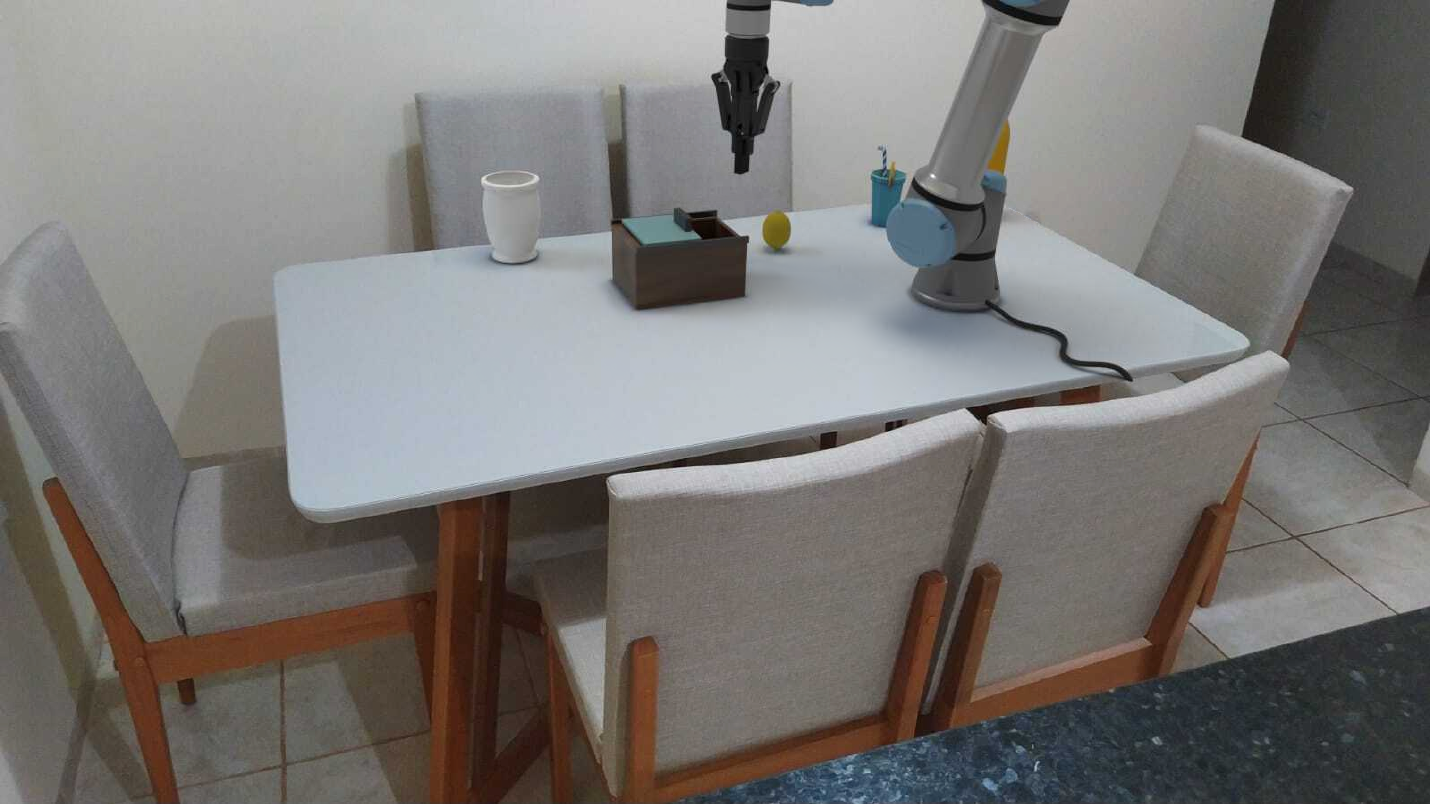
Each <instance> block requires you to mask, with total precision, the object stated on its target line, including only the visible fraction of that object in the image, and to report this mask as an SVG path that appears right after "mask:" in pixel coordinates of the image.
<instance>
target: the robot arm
mask: <svg viewBox="0 0 1430 804" xmlns="http://www.w3.org/2000/svg"><path fill="white" fill-rule="evenodd" d="M772 1H773V2H776V1H777V2H783V3H790V4H797V5H802V6H803V5H804V6H806V7H811V8H812V7H829V6H831V5H832V4H834V1H835V0H726V7H725V21H724V22H725V23H724V24H725V25H724V31H725V32H726V33H727V35H725V37H724V57H725V62H724V64H723V66H722V69H721V70H719V71H718V72H714V73H712V74H711V75H710V78H711V80H712V83H713V85H714V87H715V93H716V98H717V104H718V111H719V117H720V122H721V129H722V130H723V131H727V132H728V133H730V135H731V144H730V146H731V147H730V150H731V153H732V154H734V159H733V160H734V161H733V162H734V163H733V174H736V175H740V176H741V175H744V174H746V173H749V172H750V161H751V159H750V157H751V156H752V155H753V154H754V151H755V137H757V136H761V135H763V134H764V133H765V132H766V129H767V124H768V121H769V118H770V113H771V110H772V106H773V103H774V99H775V95H776V93H777V92H778V90H779V89H780V87H781V81H780V80H775V79H774V78H773V77H771V75H770V70H769V67H768V60H769V52H770V38H769V36H767V35H769V33H770V31H771V12H772ZM1070 1H1071V0H980V2H981V4H982V7H983V9H984V11H985V12H984V13H985V17H984V20H983V23H982V24H981V27H980V30H979V33H978V36H977V38H976V40H975V43H974V45H973V48H972V51H971V54H970V56H969V59H968V61H967V64H966V67H965V68H964V72H963V74H962V77H961V80H960V82H959V85H958V86H957V90H956V93H955V95H954V97H953V100H952V101H951V105H950V108H949V111H948V113H947V116H946V118H945V121H944V123H943V126H942V129H941V131H940V134H939V136H938V139H937V141H936V144H935V146H934V149H933V152H932V154H931V157H930V159H929V162H928V164H927V165H924V166H922V167H918V168H916V170H915V172H914V175H913V177H912V179H911V182H910V184H909V187H908V190H907V192H906V195H905V197H904V199H903V200H900V202H899V203H898V204H897V205H896V206H895V207H894V208H893V209H892V211H891V212H890V214H889V216H888V219H887V223H886V227H885V232H886V237H887V242H888V243H889V244H890V247H891V249H892V251H893V253H894V254H895V255H896V256H897V257H898V258H899V259H900V260H901V261H902V262H904V263H905V264H907V265H908V266H911V267H914V268H917V269H918V270H917V272H916V274H915V276H914V277H913V279H912V283H911V294H912V296H914V298H915V299H917V300H918V301H919V302H921V303H923V304H925V305H927V306H930V307H933V308H935V309H936V308H937V309H941V310H945V311H951V312H963V313H969V312H980V311H981V312H982V311H986V310H989V309H991V310H993V311H994V312H996V313H997V314H998V315H1000V316H1001V317H1003V318H1004V319H1005V320H1006V321H1008V322H1010V323H1011V324H1014V325H1016V326H1019V327H1022V328H1026V329H1030V330H1034V331H1039V332H1044V333H1048V334H1050V335H1053V336H1056V338H1058V339H1060V341H1061V344H1060V348H1059V355H1060V358H1061V359H1062V360H1064V361H1065V362H1066V363H1068V364H1070V365H1073V366H1076V367H1082V368H1100V369H1102V368H1103V369H1109V370H1112V371H1115V372H1117V373H1119V374H1120V375H1121V376H1122V377H1123V379H1124V380H1125V381H1127V382H1129V383H1133V382H1134V379H1133V377H1132V375H1131V374H1130V373H1129V372H1128V371H1127V370H1126V369H1125V368H1123V367H1122V366H1120V365H1119V364H1115V363H1114V362H1113V363H1112V362H1108V361H1098V360H1097V361H1095V360H1080V359H1075V358H1073V357H1071V356H1070V355H1068V354H1067V352H1066V351H1067V347H1068V344H1069V341H1068V338H1067V336H1066V335H1065V334H1064V333H1063V332H1061V331H1060V330H1058V329H1055V328H1052V327H1049V326H1046V325H1040V324H1037V323H1036V324H1035V323H1030V322H1027V321H1023V320H1020V319H1018V318H1015V317H1014V316H1012V315H1010V314H1009V313H1008V312H1006V311H1005V310H1004V309H1002V308H1001V307H999V306H998V305H997V304H998V303H999V300H1000V293H1001V290H1000V289H1001V288H1000V283H999V282H1000V281H999V275H998V270H997V264H996V253H997V247H998V241H999V236H1000V230H1001V224H1002V218H1003V213H1004V207H1005V200H1006V197H1007V196H1008V195H1007V194H1008V193H1007V186H1008V180H1007V177H1006V175H1005V174H1004V175H1003V174H1002V173H1000V172H998V171H995V170H992V169H988V168H987V166H988V164H989V162H990V159H991V157H992V155H993V152H994V150H995V148H996V145H997V143H998V140H999V138H1000V136H1001V133H1002V131H1003V129H1004V126H1005V124H1006V122H1007V119H1008V120H1009V118H1010V117H1009V116H1010V115H1011V113H1012V110H1013V107H1014V105H1015V103H1016V100H1017V99H1018V95H1019V93H1020V90H1021V88H1022V85H1023V84H1024V82H1025V80H1026V77H1027V74H1028V72H1029V70H1030V67H1031V65H1032V62H1033V61H1034V58H1035V55H1036V53H1037V51H1038V48H1039V46H1040V43H1041V42H1042V39H1043V37H1044V35H1045V34H1046V33H1049V32H1050V31H1052V30H1054V29H1057V28H1059V26H1060V23H1061V21H1062V19H1063V17H1064V15H1065V12H1066V10H1067V8H1068V5H1069V4H1070ZM761 87H762V92H761V95H760V88H761ZM759 96H760V99H758V97H759ZM758 100H759V102H758Z"/></svg>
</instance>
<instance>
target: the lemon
mask: <svg viewBox="0 0 1430 804" xmlns="http://www.w3.org/2000/svg"><path fill="white" fill-rule="evenodd" d="M791 226H792V225H791V221H790V218H789V217H788V215H786V214H785V213H784V212H782V211H781V210H779V209H776V210H775V211H773V212H770V213H769V214H767V216H766V217H765V219H764V220H763V224H762V228H761V229H762V231H761V233H762V238H763V241H764V242H765V243H766V245H767V246H769V247H770V248H772V249H773V250H774V251H776V250H777V251H778V249H780V248H782V247H783V246H785V245H786V244H788V242H789V241H790V237H791V234H792V227H791Z"/></svg>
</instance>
